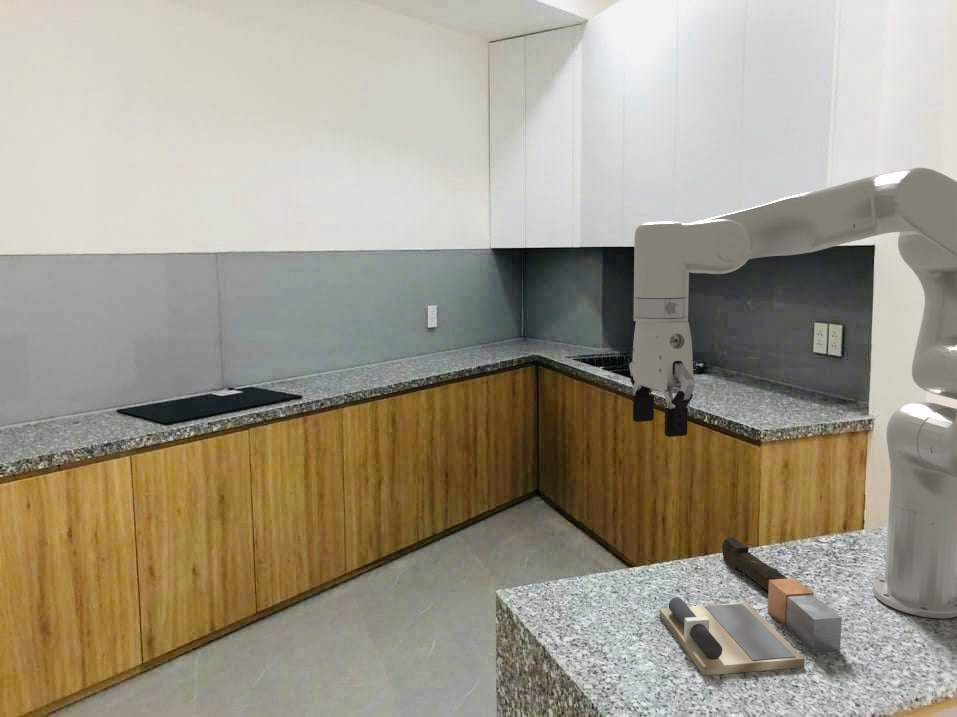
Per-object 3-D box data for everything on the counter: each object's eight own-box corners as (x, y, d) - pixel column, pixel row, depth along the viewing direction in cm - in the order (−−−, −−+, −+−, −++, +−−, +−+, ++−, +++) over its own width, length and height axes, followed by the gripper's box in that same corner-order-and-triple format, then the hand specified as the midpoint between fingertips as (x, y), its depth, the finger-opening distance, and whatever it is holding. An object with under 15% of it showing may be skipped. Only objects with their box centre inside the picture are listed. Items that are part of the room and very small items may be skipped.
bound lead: (686, 614, 108) (686, 593, 107) (724, 662, 95) (725, 638, 95) (665, 616, 108) (666, 595, 107) (701, 663, 95) (702, 640, 94)
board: (746, 609, 111) (746, 601, 110) (804, 667, 95) (804, 657, 95) (659, 616, 109) (659, 608, 109) (703, 675, 93) (703, 666, 93)
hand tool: (801, 604, 112) (803, 576, 112) (778, 607, 112) (780, 578, 111) (737, 556, 131) (737, 532, 130) (717, 558, 130) (717, 534, 130)
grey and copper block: (793, 609, 110) (794, 578, 110) (840, 651, 99) (842, 616, 98) (767, 611, 110) (768, 579, 109) (811, 653, 98) (813, 618, 97)
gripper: (718, 313, 94) (715, 440, 96) (655, 306, 110) (653, 414, 113) (666, 315, 92) (664, 444, 94) (610, 307, 109) (610, 417, 111)
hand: (658, 428), depth 103 cm, fingers open, 9 cm apart
